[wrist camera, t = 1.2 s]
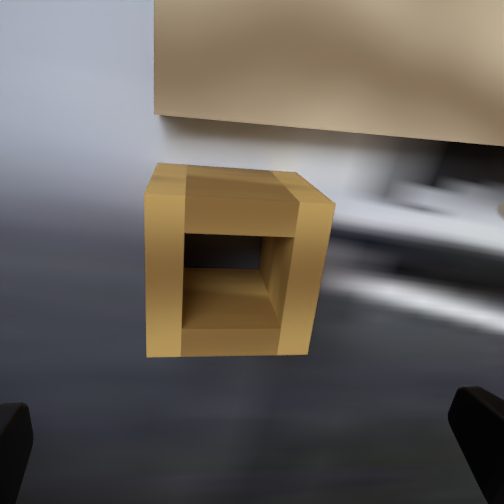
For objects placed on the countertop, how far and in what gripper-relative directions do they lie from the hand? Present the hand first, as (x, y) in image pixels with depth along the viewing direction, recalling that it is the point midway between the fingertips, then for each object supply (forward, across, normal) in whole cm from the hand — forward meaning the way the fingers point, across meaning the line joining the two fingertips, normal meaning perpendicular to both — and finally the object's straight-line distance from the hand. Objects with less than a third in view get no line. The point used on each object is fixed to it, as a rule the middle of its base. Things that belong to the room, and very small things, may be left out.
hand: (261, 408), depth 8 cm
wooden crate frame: (+10, 0, 0) cm, 11 cm away
